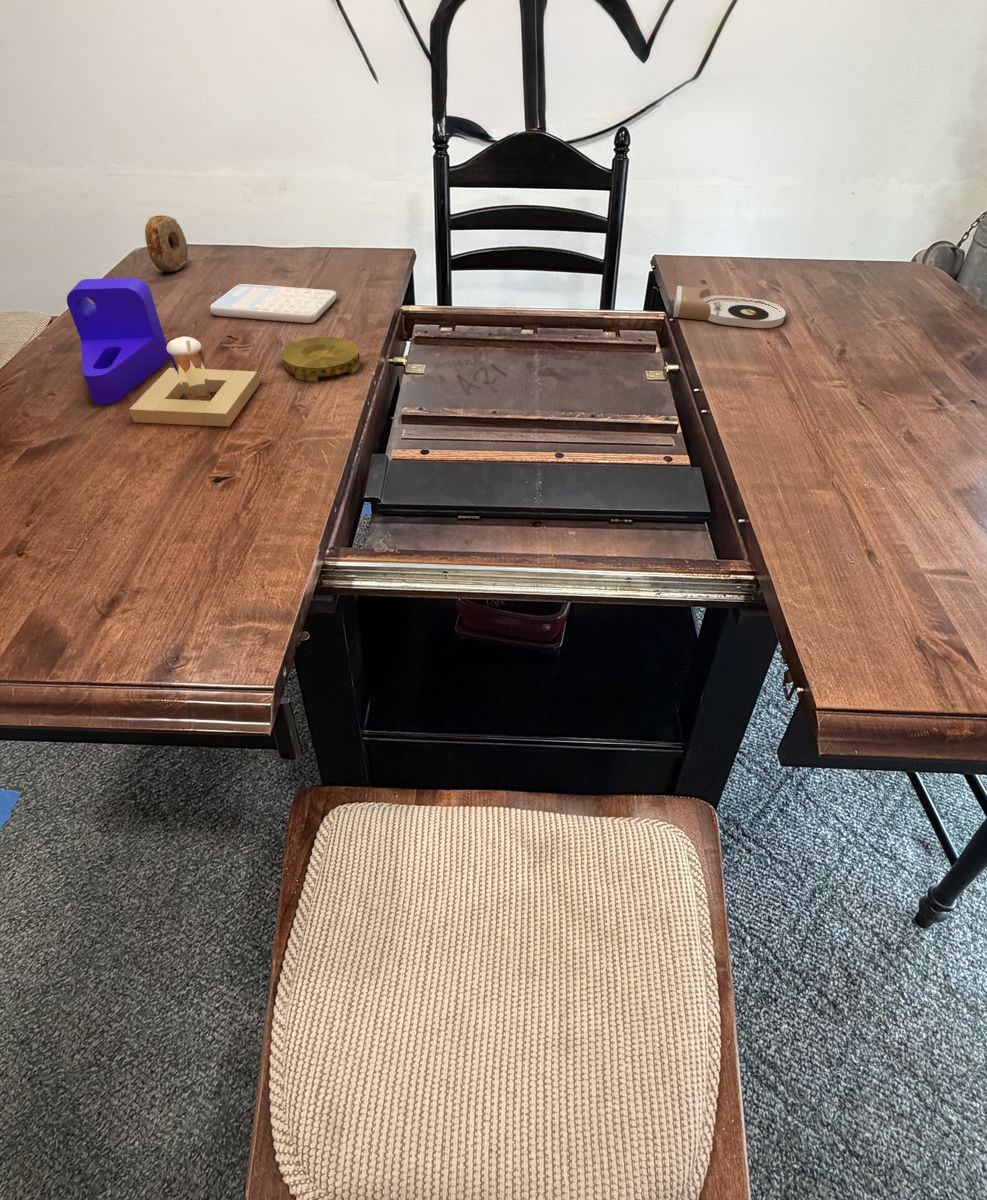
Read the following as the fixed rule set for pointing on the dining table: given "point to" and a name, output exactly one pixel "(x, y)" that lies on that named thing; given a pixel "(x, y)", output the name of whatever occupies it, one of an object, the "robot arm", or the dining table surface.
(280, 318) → the calculator
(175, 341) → the milkshake
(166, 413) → the square frame
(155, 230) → the stone disc
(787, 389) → the dining table surface
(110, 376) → the bracket
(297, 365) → the olive flat round disc
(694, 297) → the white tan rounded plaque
